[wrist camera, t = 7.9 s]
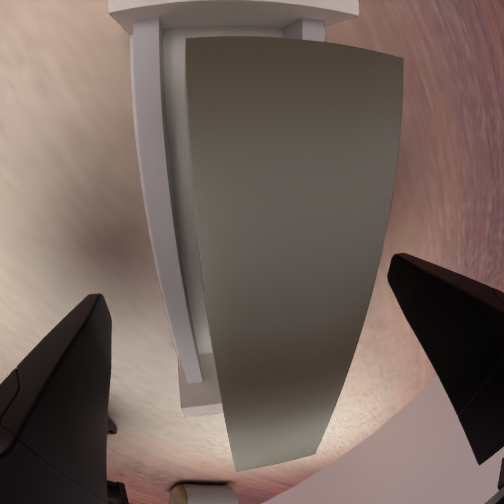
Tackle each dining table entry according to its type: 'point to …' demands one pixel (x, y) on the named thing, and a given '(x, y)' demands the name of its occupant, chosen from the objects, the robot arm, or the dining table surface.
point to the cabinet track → (177, 150)
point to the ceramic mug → (202, 494)
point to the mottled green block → (288, 223)
